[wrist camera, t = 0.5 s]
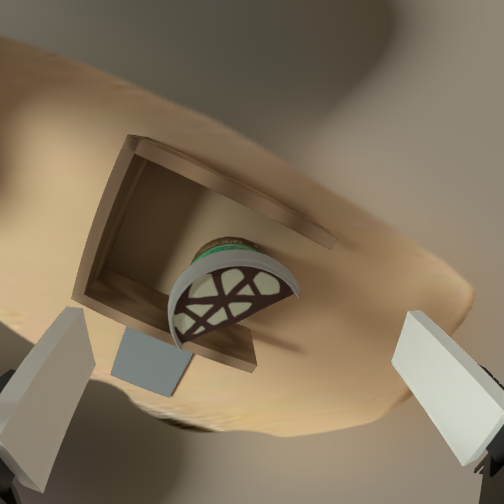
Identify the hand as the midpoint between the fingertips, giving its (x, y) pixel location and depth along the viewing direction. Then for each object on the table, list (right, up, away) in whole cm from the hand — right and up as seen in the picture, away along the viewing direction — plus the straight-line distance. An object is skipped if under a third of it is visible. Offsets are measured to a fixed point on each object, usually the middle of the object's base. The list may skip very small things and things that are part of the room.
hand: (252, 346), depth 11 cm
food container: (-4, +3, +22) cm, 23 cm away
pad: (-13, -9, +25) cm, 30 cm away
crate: (-6, +4, +22) cm, 23 cm away
